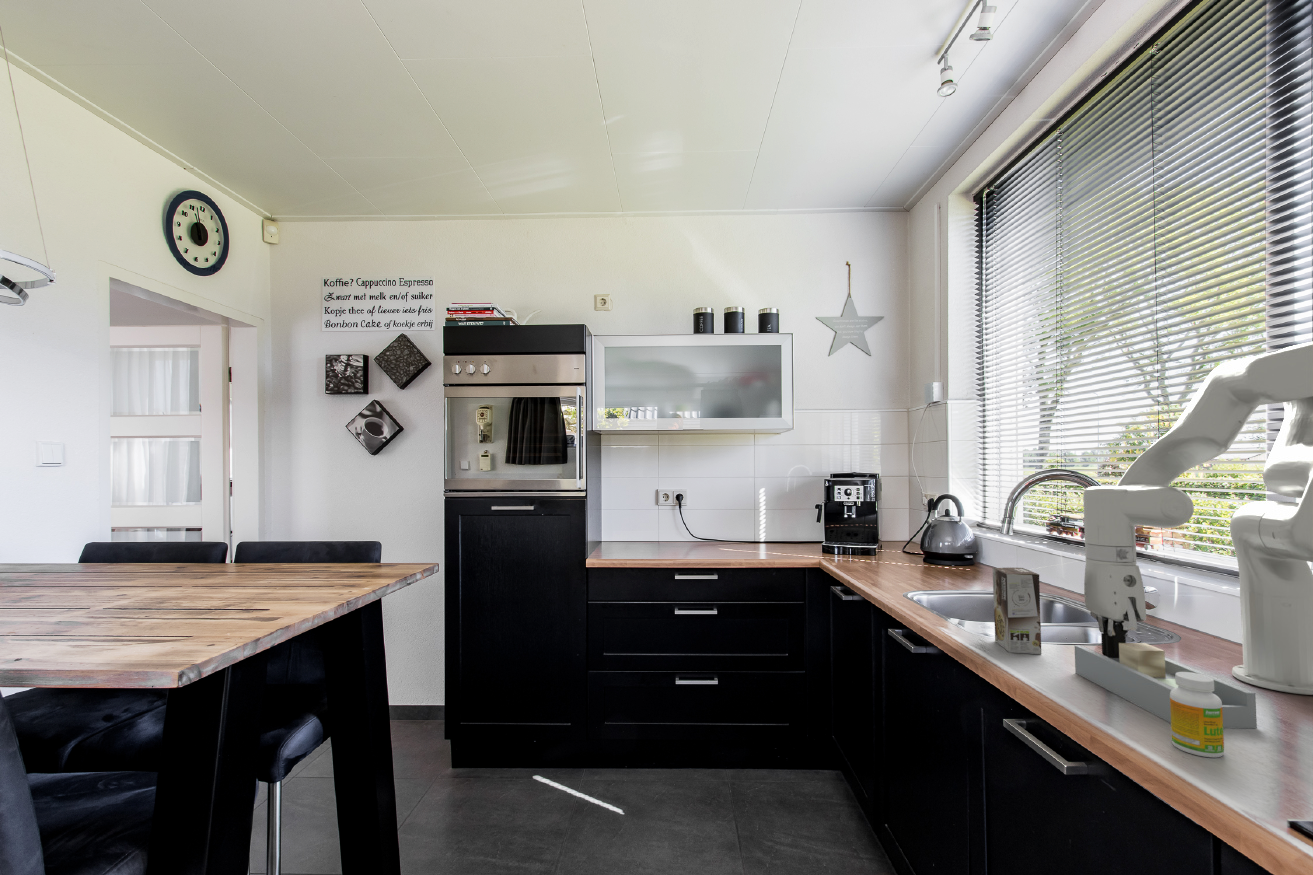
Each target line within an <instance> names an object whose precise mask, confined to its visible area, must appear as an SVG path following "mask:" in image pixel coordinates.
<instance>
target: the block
mask: <svg viewBox="0 0 1313 875" xmlns="http://www.w3.org/2000/svg"><path fill="white" fill-rule="evenodd" d="M1165 657H1166V654H1165V650H1163V649H1161V648H1159V647H1156V646H1154V645H1151V644H1148V643H1147V642H1146V643H1145V642H1126V643H1119V660H1120V663H1121V664H1123V665H1126V666H1128V667H1130V668H1132V669H1135V670H1137V671H1139V672H1141V673H1143V674H1146V675H1148V676H1150V677H1152V678H1166V674H1165Z"/></svg>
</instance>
